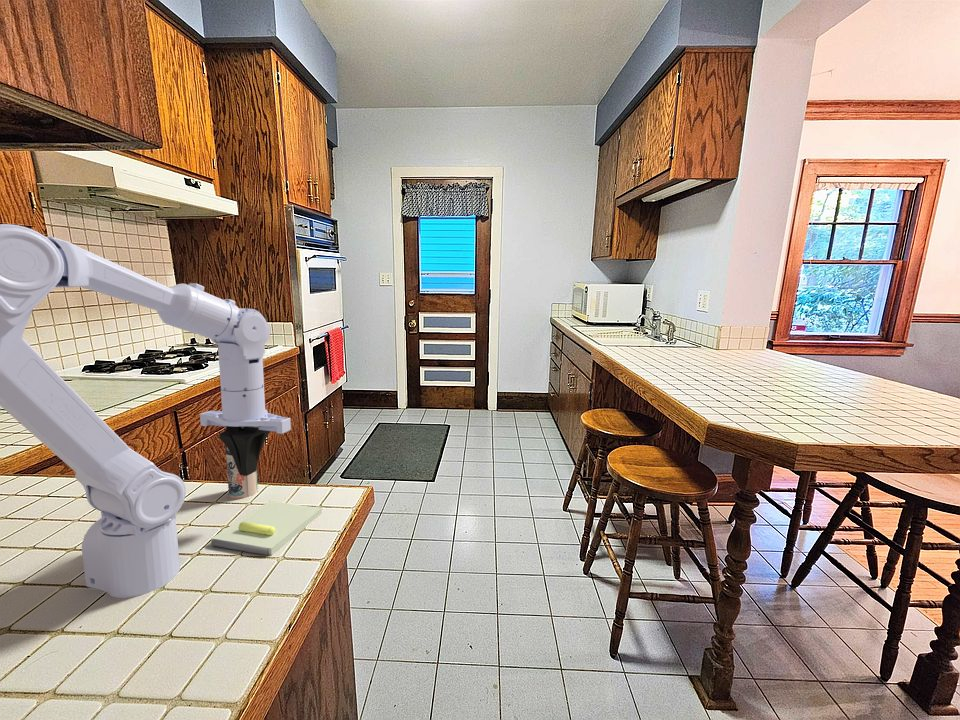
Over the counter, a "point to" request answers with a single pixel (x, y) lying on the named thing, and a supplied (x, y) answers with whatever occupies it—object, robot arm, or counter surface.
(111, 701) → the counter surface
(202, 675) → the counter surface
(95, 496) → the robot arm
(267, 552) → the plate
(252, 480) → the beer can
